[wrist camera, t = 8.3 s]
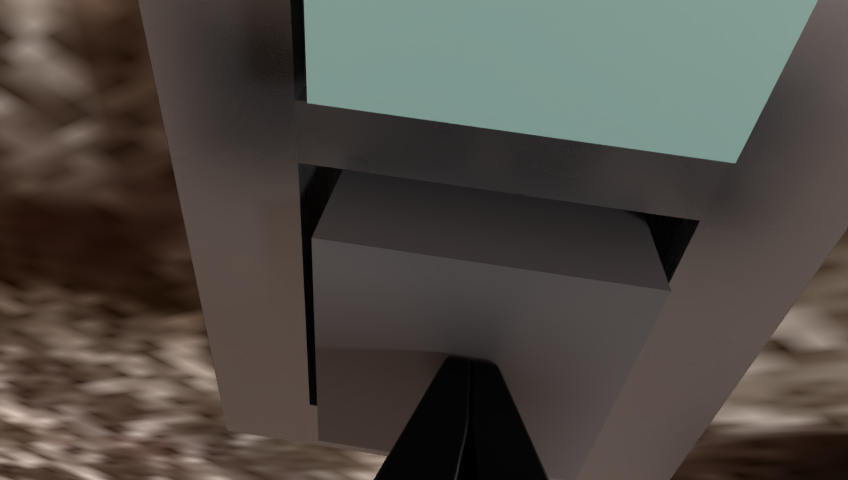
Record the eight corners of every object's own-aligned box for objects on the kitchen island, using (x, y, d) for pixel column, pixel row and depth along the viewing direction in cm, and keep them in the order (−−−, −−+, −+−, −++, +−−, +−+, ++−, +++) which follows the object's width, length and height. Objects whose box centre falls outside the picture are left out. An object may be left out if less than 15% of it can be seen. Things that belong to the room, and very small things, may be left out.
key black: (619, 144, 11) (671, 291, 8) (558, 320, 14) (574, 481, 11) (370, 109, 11) (311, 237, 8) (362, 291, 14) (317, 440, 11)
